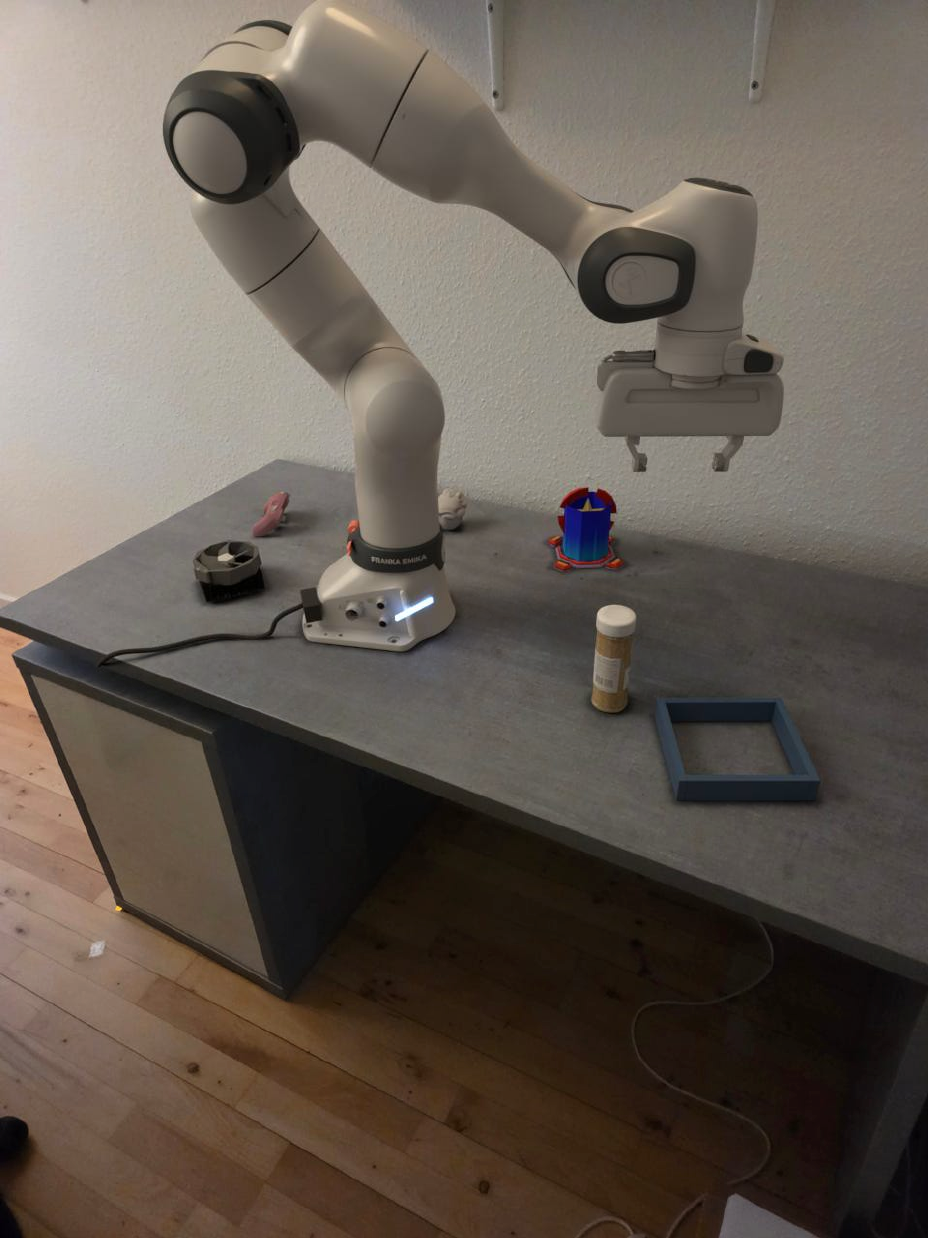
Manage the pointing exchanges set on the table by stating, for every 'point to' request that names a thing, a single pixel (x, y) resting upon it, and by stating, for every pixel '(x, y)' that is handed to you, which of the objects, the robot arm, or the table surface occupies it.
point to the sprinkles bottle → (612, 657)
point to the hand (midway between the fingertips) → (678, 470)
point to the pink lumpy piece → (272, 514)
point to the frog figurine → (451, 508)
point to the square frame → (736, 785)
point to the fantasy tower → (586, 532)
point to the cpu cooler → (228, 570)
